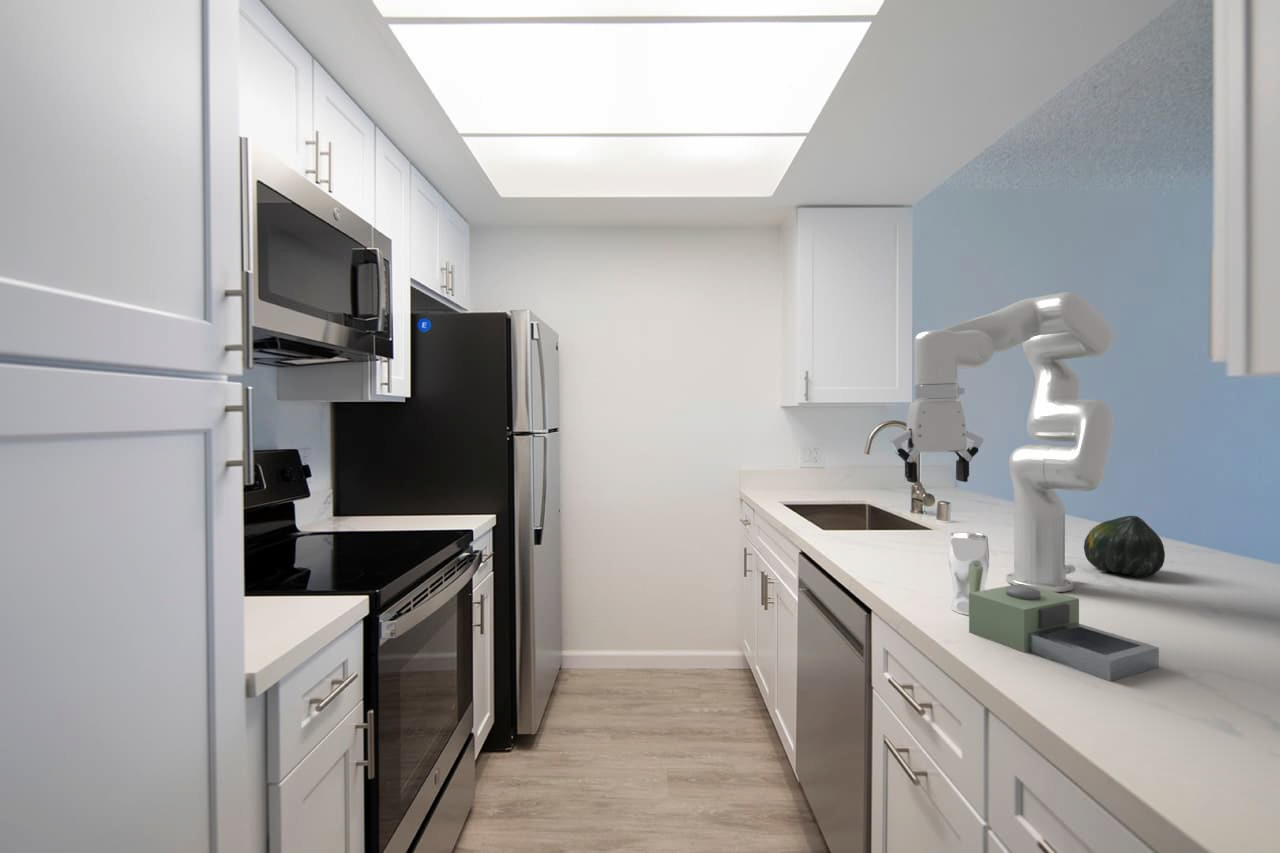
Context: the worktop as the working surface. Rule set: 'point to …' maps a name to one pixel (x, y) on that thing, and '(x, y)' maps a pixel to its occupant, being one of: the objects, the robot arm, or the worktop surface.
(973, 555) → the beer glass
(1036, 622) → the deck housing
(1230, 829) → the worktop surface
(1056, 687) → the worktop surface
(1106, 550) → the squash
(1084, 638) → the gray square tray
